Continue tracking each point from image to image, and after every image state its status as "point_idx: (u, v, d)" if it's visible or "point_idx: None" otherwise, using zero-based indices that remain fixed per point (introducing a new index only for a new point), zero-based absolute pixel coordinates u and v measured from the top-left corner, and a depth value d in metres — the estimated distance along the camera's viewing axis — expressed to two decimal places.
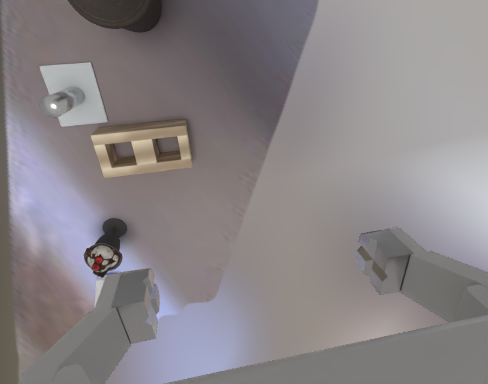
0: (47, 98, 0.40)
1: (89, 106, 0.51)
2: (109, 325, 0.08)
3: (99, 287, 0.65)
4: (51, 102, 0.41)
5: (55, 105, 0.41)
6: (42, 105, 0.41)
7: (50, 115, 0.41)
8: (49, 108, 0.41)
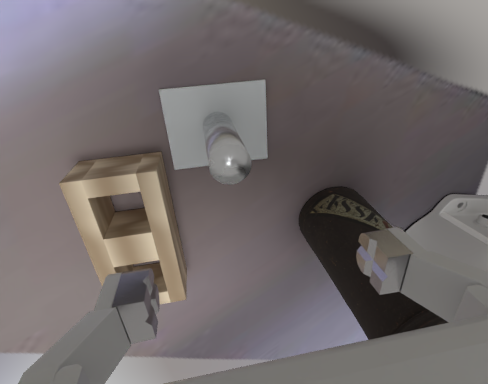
0: (247, 161, 0.20)
1: (200, 145, 0.29)
2: (109, 325, 0.08)
3: None
4: (239, 166, 0.20)
5: (233, 172, 0.20)
6: (234, 149, 0.19)
7: (213, 159, 0.20)
8: (228, 161, 0.20)
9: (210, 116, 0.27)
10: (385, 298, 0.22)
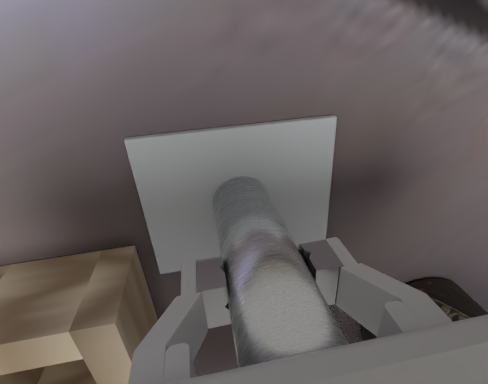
0: None
1: (207, 233, 0.16)
2: (197, 309, 0.09)
3: None
4: None
5: None
6: None
7: None
8: None
9: (229, 189, 0.14)
10: None
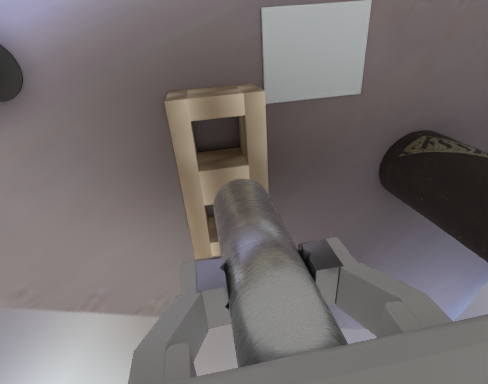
0: None
1: (294, 75, 0.27)
2: (197, 309, 0.09)
3: None
4: None
5: None
6: None
7: None
8: None
9: (230, 191, 0.14)
10: None
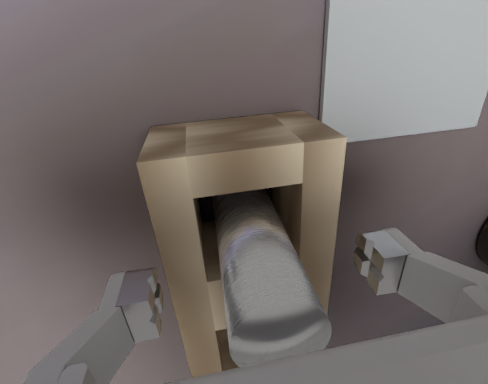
0: (322, 332, 0.08)
1: (375, 98, 0.16)
2: (113, 324, 0.08)
3: None
4: (302, 342, 0.08)
5: (287, 353, 0.08)
6: (295, 312, 0.08)
7: (241, 335, 0.08)
8: (276, 335, 0.08)
9: None
10: None
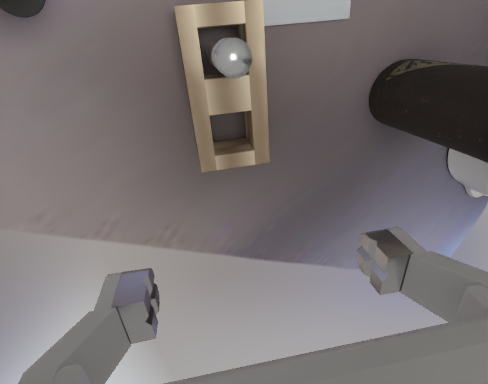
0: (248, 55, 0.23)
1: None
2: (109, 325, 0.08)
3: None
4: (242, 60, 0.23)
5: (237, 66, 0.24)
6: (238, 42, 0.23)
7: (219, 52, 0.23)
8: (232, 54, 0.23)
9: (213, 40, 0.30)
10: None
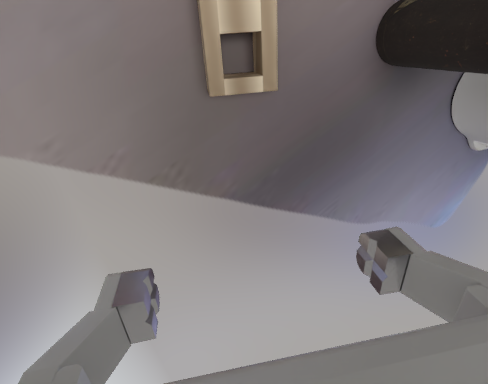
0: None
1: None
2: (109, 325, 0.08)
3: None
4: None
5: None
6: None
7: None
8: None
9: None
10: None
